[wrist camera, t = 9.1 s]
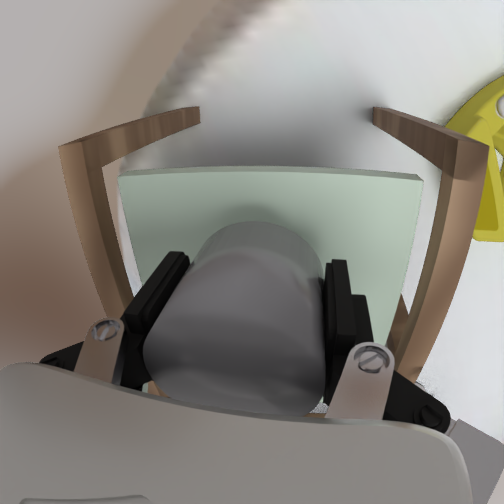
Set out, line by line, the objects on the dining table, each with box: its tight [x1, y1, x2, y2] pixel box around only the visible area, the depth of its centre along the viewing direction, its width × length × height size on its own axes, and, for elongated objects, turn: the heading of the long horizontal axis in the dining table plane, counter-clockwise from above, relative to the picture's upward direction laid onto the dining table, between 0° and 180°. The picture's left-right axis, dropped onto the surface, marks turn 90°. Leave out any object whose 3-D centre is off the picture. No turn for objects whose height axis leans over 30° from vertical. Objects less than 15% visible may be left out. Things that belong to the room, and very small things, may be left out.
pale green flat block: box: [117, 166, 424, 403], centre depth 19 cm, size 15×16×5 cm
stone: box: [143, 221, 326, 417], centre depth 10 cm, size 5×5×5 cm
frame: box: [58, 106, 490, 418], centre depth 23 cm, size 19×21×17 cm
